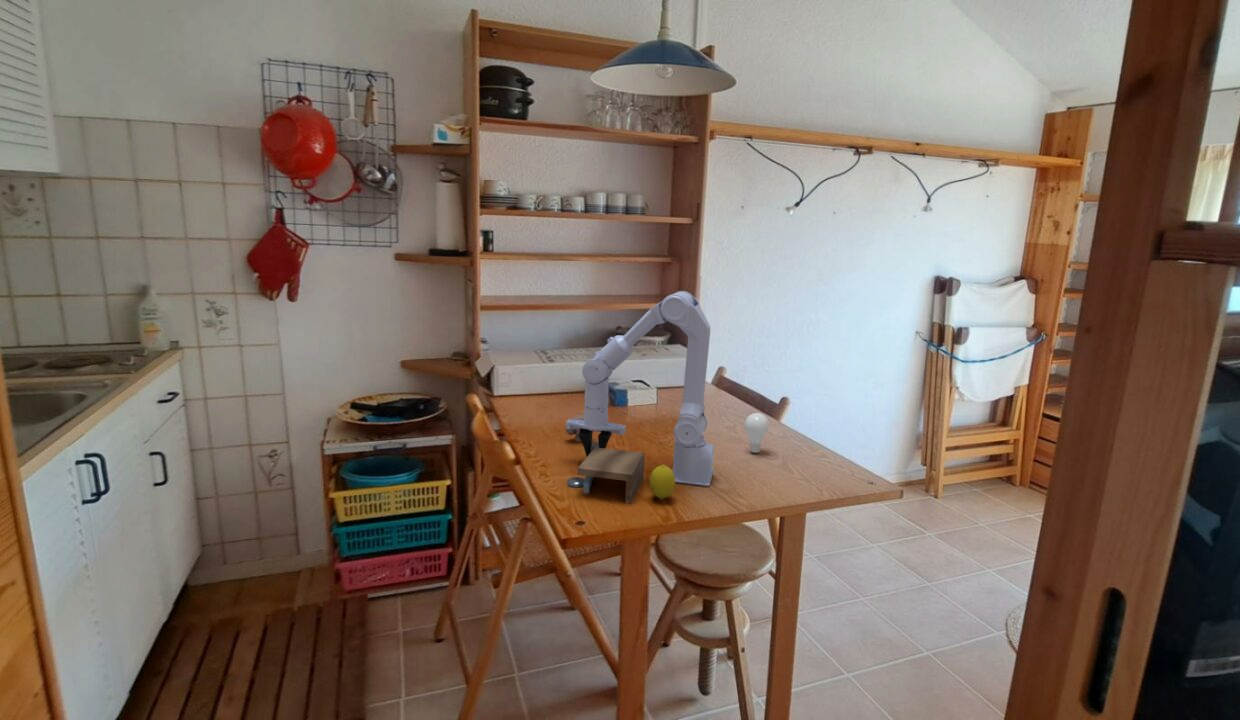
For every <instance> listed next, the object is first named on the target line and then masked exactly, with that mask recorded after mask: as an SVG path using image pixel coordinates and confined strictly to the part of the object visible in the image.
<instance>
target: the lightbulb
mask: <svg viewBox="0 0 1240 720" xmlns="http://www.w3.org/2000/svg"><path fill="white" fill-rule="evenodd" d="M744 429H745V431H746V433H747V434H748V438H749V442H750V443H749V451H750V452H751V453H752V454H759V453H761V443H762V442H763V438H764V437H765V435H766V434H767V433H768V431H769V429H770V421H769V419H768V418H767V416H766V415H765V414H763V413H760V412H753V413H750V414H749V415H748V416H747V417H746V418H745V421H744Z"/></svg>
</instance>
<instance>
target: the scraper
mask: <svg viewBox="0 0 1240 720" xmlns="http://www.w3.org/2000/svg"><path fill="white" fill-rule="evenodd" d="M595 447H596V448H599V441H592V444H591V448H590V453H591V451H592V450H593V449H594V448H595ZM584 479H585V480H584V487H582V488H583V489H582V490H583V491H582V492H583V494H590V490H591V487H592V484H593V481H594V477H592V476H584Z"/></svg>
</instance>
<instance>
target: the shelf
mask: <svg viewBox="0 0 1240 720" xmlns="http://www.w3.org/2000/svg"><path fill="white" fill-rule="evenodd" d="M644 471H645V452H639V451H631V450H622V449H614V448H596V447H595V448H594V449H593V450H592V451H591V453H590V454H589V455H588V456H587V458H586V457H585V459H584V460H583V461H582V462H581V463H580V465H579V466H578V467H577V475H578V476H584V477H586V476H592V477H593V478H602V479H608V480H609V479H610V480H616V481H617V480H619V481H625V500H624V501H625V502H626V504H632V503H633V500H634V498H635V496H636V494H637V492H638V490H639V489H640V486H641V484H642V483H643V481H644V476H645V475H644ZM625 502H624V503H625Z"/></svg>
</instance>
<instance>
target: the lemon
mask: <svg viewBox="0 0 1240 720" xmlns="http://www.w3.org/2000/svg"><path fill="white" fill-rule="evenodd" d="M649 477H650V478H649V488H650V489H649V490H651V491H650V492H651V493H652V494H653V496H655V497H656V498H659V499H660V500H661V501H662V500H664V499H665V498H666V499H667V498H668V497H670V496H671V495H672V494H673V492H674V491H675V487H676V482H675V476H674V473H673V469H671V468H670V467H669V466H666V465H665V464H661V465H659V466H657V467H655V468H654V469H653V470H652V472H651V474H650V476H649Z"/></svg>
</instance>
